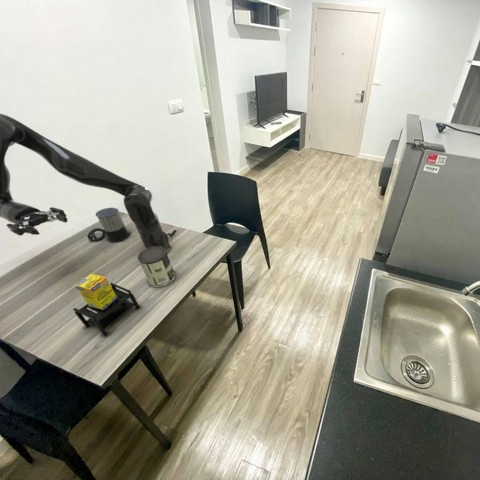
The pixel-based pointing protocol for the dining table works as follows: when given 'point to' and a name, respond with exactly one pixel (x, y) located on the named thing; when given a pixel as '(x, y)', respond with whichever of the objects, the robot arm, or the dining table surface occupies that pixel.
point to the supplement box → (97, 292)
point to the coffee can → (156, 266)
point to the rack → (107, 310)
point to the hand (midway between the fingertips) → (51, 225)
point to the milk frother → (110, 226)
